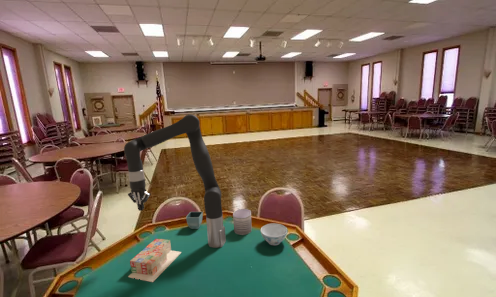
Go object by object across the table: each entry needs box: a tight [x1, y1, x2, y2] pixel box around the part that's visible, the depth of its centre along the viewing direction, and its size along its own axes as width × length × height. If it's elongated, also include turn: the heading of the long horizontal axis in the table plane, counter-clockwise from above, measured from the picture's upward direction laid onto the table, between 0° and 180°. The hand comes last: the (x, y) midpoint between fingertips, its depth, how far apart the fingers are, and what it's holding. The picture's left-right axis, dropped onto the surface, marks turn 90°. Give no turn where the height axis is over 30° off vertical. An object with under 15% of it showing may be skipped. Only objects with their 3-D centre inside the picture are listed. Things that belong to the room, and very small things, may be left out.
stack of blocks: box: [129, 238, 172, 275], centre depth 132 cm, size 21×6×12 cm
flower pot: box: [185, 211, 204, 230], centre depth 167 cm, size 9×9×9 cm
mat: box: [127, 249, 182, 283], centre depth 131 cm, size 14×24×1 cm, turn 162°
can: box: [232, 208, 253, 236], centre depth 160 cm, size 11×11×12 cm
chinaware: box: [260, 223, 288, 246], centre depth 145 cm, size 15×15×8 cm
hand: (141, 210), depth 136 cm, fingers closed
